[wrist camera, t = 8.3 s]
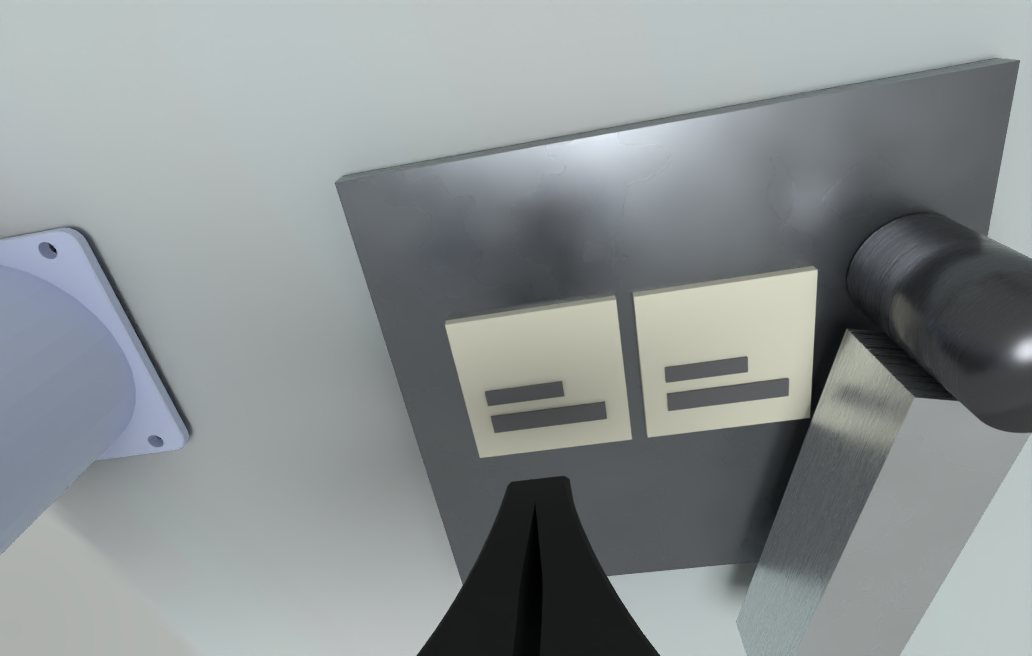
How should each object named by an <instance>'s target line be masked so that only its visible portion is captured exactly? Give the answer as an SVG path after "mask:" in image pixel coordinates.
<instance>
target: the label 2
mask: <svg viewBox="0 0 1032 656" xmlns="http://www.w3.org/2000/svg"><path fill="white" fill-rule="evenodd" d="M817 274H818V270H817V269H816V268H815V267H814V266H809V267H802V268H795V269H788V270H782V271H775V272H768V273H762V274H755V275H748V276H741V277H735V278H728V279H721V280H715V281H708V282H701V283H694V284H688V285H681V286H674V287H668V288H661V289H654V290H647V291H641V292H634V293H632V294H633V304H634V314H635V324H636V334H637V344H638V354H639V364H640V374H641V384H642V394H643V404H644V414H645V424H646V433H647V436H648V437H657V436H665V435H673V434H681V433H689V432H698V431H706V430H714V429H722V428H730V427H739V426H747V425H755V424H763V423H771V422H780V421H788V420H796V419H804V418H810V408H811V389H812V370H813V351H814V331H815V312H816V293H817Z"/></svg>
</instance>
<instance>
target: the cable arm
mask: <svg viewBox="0 0 1032 656" xmlns="http://www.w3.org/2000/svg"><path fill="white" fill-rule="evenodd" d="M847 286H848V292H849V295H850V298H851V300H852V302H853V303H854V305H855V306H856V307H857V308H858V309H859V310H860V311H861V312H862V313H863V314H864V315H865V316H866V317H867V318H869V319H870V320H871V321H872V322H873V323H874V324H875V325H876V326H877V327H878V328H879V329H881V330H882V331H872V330H860V329H848V328H846V331H845V333H844V336H843V339H842V341H841V344H840V347H839V349H838V352H837V355H836V357H835V360H834V363H833V365H832V368H831V371H830V373H829V376H828V379H827V381H826V384H825V387H824V389H823V392H822V395H821V397H820V400H819V403H818V405H817V408H816V411H815V413H814V416H813V419H812V421H811V424H810V427H809V429H808V432H807V435H806V437H805V440H804V443H803V445H802V448H801V451H800V453H799V456H798V458H797V461H796V464H795V466H794V469H793V472H792V474H791V477H790V480H789V482H788V485H787V488H786V490H785V493H784V496H783V498H782V501H781V504H780V506H779V509H778V512H777V514H776V517H775V520H774V522H773V525H772V528H771V530H770V533H769V536H768V538H767V541H766V544H765V546H764V549H763V552H762V554H761V557H760V560H759V562H758V565H757V568H756V570H755V573H754V576H753V578H752V581H751V584H750V586H749V589H748V592H747V594H746V597H745V600H744V602H743V605H742V607H741V610H740V613H739V615H738V618H737V621H736V624H737V627H738V630H739V633H740V636H741V639H742V642H743V645H744V648H745V651H746V654H747V656H900V654H901V652H902V651H903V649H904V647H905V646H906V644H907V642H908V641H909V639H910V637H911V636H912V634H913V632H914V630H915V629H916V627H917V625H918V624H919V622H920V620H921V619H922V617H923V615H924V614H925V612H926V610H927V608H928V607H929V605H930V603H931V602H932V600H933V598H934V597H935V595H936V593H937V592H938V590H939V588H940V586H941V585H942V583H943V581H944V580H945V578H946V576H947V575H948V573H949V571H950V570H951V568H952V566H953V564H954V563H955V561H956V559H957V558H958V556H959V554H960V553H961V551H962V549H963V548H964V546H965V544H966V542H967V541H968V539H969V537H970V536H971V534H972V532H973V531H974V529H975V527H976V526H977V524H978V522H979V520H980V519H981V517H982V515H983V514H984V512H985V510H986V509H987V507H988V505H989V504H990V502H991V500H992V498H993V497H994V495H995V493H996V492H997V490H998V488H999V487H1000V485H1001V483H1002V482H1003V480H1004V478H1005V476H1006V475H1007V473H1008V471H1009V470H1010V468H1011V466H1012V465H1013V463H1014V461H1015V460H1016V458H1017V456H1018V454H1019V453H1020V451H1021V449H1022V448H1023V446H1024V444H1025V443H1026V441H1027V439H1028V438H1029V436H1030V434H1031V433H1032V259H1031V258H1029V257H1027V256H1025V255H1023V254H1021V253H1019V252H1017V251H1015V250H1013V249H1011V248H1009V247H1007V246H1005V245H1003V244H1001V243H999V242H997V241H994V240H992V239H990V238H988V237H986V236H984V235H982V234H980V233H978V232H976V231H974V230H972V229H970V228H968V227H966V226H964V225H962V224H960V223H958V222H956V221H954V220H952V219H950V218H948V217H945V216H942V215H938V214H932V213H920V214H913V215H908V216H905V217H902V218H899V219H896V220H894V221H892V222H890V223H888V224H886V225H885V226H883V227H881V228H880V229H879V230H877V231H876V232H874V233H873V234H872V235H871V236H870V237H869V238H868V239H867V240H866V241H865V242H864V243H863V244H862V246H861V247H860V248H859V250H858V251H857V253H856V255H855V256H854V258H853V260H852V263H851V265H850V268H849V272H848V279H847Z"/></svg>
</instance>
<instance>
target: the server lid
mask: <svg viewBox="0 0 1032 656" xmlns="http://www.w3.org/2000/svg"><path fill="white" fill-rule="evenodd" d="M1019 63H1020V60H1012V59H1001V58H995V59H989V60H984V61H978V62H973V63H967V64H962V65H956V66H950V67H945V68H939V69H934V70H928V71H923V72H917V73H912V74H906V75H900V76H895V77H889V78H884V79H878V80H873V81H867V82H862V83H856V84H850V85H845V86H839V87H834V88H828V89H823V90H817V91H812V92H806V93H800V94H795V95H789V96H784V97H778V98H773V99H767V100H761V101H756V102H750V103H745V104H739V105H734V106H728V107H723V108H717V109H711V110H706V111H700V112H695V113H689V114H684V115H678V116H673V117H667V118H661V119H656V120H650V121H645V122H639V123H634V124H628V125H622V126H617V127H611V128H606V129H600V130H595V131H589V132H584V133H578V134H572V135H567V136H561V137H556V138H550V139H545V140H539V141H534V142H528V143H522V144H517V145H511V146H506V147H500V148H495V149H489V150H483V151H478V152H472V153H467V154H461V155H456V156H450V157H445V158H439V159H433V160H428V161H422V162H417V163H411V164H406V165H400V166H395V167H389V168H383V169H378V170H372V171H367V172H361V173H356V174H350V175H344V176H342V177H341V178H340V179H339V180H338V181H336V182H335V185H336V188H337V191H338V194H339V197H340V201H341V204H342V207H343V210H344V213H345V216H346V219H347V223H348V226H349V229H350V232H351V235H352V238H353V241H354V245H355V248H356V251H357V254H358V257H359V260H360V263H361V267H362V270H363V273H364V276H365V279H366V282H367V285H368V289H369V292H370V295H371V298H372V301H373V304H374V307H375V311H376V314H377V317H378V320H379V323H380V326H381V329H382V333H383V336H384V339H385V342H386V345H387V348H388V351H389V354H390V358H391V361H392V364H393V367H394V370H395V373H396V376H397V380H398V383H399V386H400V389H401V392H402V395H403V398H404V402H405V405H406V408H407V411H408V414H409V417H410V420H411V424H412V427H413V430H414V433H415V436H416V439H417V442H418V446H419V449H420V452H421V455H422V458H423V461H424V464H425V468H426V471H427V474H428V477H429V480H430V483H431V486H432V490H433V493H434V496H435V499H436V502H437V505H438V508H439V512H440V515H441V518H442V521H443V524H444V527H445V530H446V534H447V537H448V540H449V543H450V546H451V549H452V552H453V555H454V559H455V562H456V565H457V568H458V571H459V574H460V577H461V581H462V584H464V583H465V581H466V579H467V577H468V575H469V573H470V571H471V570H472V568H473V566H474V564H475V562H476V560H477V558H478V556H479V554H480V552H481V550H482V548H483V546H484V543H485V541H486V539H487V537H488V535H489V533H490V531H491V528H492V526H493V523H494V521H495V519H496V516H497V514H498V511H499V509H500V506H501V503H502V500H503V498H504V495H505V492H506V488H507V486H508V485H509V484H510V482H513V481H522V480H530V479H539V478H547V477H556V476H566V477H567V478H569V479H570V484H571V489H572V495H573V501H574V505H575V508H576V511H577V513H578V516H579V519H580V522H581V524H582V527H583V529H584V531H585V533H586V536H587V538H588V540H589V542H590V544H591V547H592V549H593V551H594V553H595V555H596V557H597V559H598V561H599V563H600V565H601V566H602V568H603V570H604V572H605V574H606V576H613V575H623V574H633V573H643V572H654V571H664V570H674V569H685V568H695V567H705V566H715V565H726V564H736V563H746V562H756V561H759V560H760V557H761V554H762V552H763V549H764V546H765V544H766V541H767V538H768V536H769V533H770V530H771V528H772V525H773V522H774V520H775V517H776V514H777V512H778V509H779V506H780V504H781V501H782V498H783V496H784V493H785V490H786V488H787V485H788V482H789V480H790V477H791V474H792V472H793V469H794V466H795V464H796V461H797V458H798V456H799V453H800V451H801V448H802V445H803V443H804V440H805V437H806V435H807V432H808V429H809V427H810V424H811V421H812V419H813V416H814V413H815V411H816V408H817V405H818V403H819V400H820V397H821V395H822V392H823V389H824V387H825V384H826V381H827V379H828V376H829V373H830V371H831V368H832V365H833V363H834V360H835V357H836V355H837V352H838V349H839V347H840V344H841V341H842V339H843V336H844V333H845V331H846V328H848V329H860V330H872V331H882V330H881V329H879V328H878V327H877V326H876V325H875V324H874V323H873V322H872V321H871V320H870V319H869V318H867V317H866V316H865V315H864V314H863V313H862V312H861V311H860V310H859V309H858V308H857V307H856V306H855V305H854V303H853V302H852V300H851V298H850V295H849V292H848V286H847V279H848V272H849V268H850V265H851V263H852V260H853V258H854V256H855V255H856V253H857V251H858V250H859V248H860V247H861V246H862V244H863V243H864V242H865V241H866V240H867V239H868V238H869V237H870V236H871V235H872V234H873V233H874V232H876V231H877V230H879V229H880V228H881V227H883V226H885V225H886V224H888V223H890V222H892V221H894V220H896V219H899V218H902V217H905V216H908V215H913V214H920V213H932V214H938V215H942V216H945V217H948V218H950V219H952V220H954V221H956V222H958V223H960V224H962V225H964V226H966V227H968V228H970V229H972V230H974V231H976V232H978V233H980V234H982V235H984V236H986V237H987V235H988V230H989V225H990V219H991V214H992V208H993V203H994V198H995V192H996V187H997V181H998V176H999V171H1000V165H1001V160H1002V154H1003V149H1004V144H1005V138H1006V133H1007V127H1008V122H1009V117H1010V111H1011V106H1012V100H1013V95H1014V90H1015V84H1016V79H1017V74H1018V68H1019ZM809 266H814V267H815V268H816V269H817V270H818V274H817V293H816V312H815V331H814V351H813V370H812V389H811V408H810V418H804V419H796V420H788V421H780V422H771V423H763V424H755V425H747V426H739V427H730V428H722V429H714V430H706V431H698V432H689V433H681V434H673V435H665V436H657V437H648V436H647V433H646V424H645V414H644V404H643V394H642V384H641V374H640V364H639V354H638V344H637V334H636V324H635V314H634V304H633V294H632V293H634V292H641V291H647V290H654V289H661V288H668V287H674V286H681V285H688V284H694V283H701V282H708V281H715V280H721V279H728V278H735V277H741V276H748V275H755V274H762V273H768V272H775V271H782V270H788V269H795V268H802V267H809ZM614 295H615V298H616V303H617V312H618V321H619V330H620V338H621V347H622V356H623V364H624V373H625V382H626V391H627V399H628V408H629V417H630V425H631V434H632V440H624V441H616V442H607V443H599V444H591V445H583V446H575V447H566V448H558V449H550V450H542V451H534V452H525V453H517V454H509V455H501V456H493V457H484V458H480V457H479V453H478V449H477V445H476V441H475V438H474V434H473V430H472V426H471V422H470V419H469V415H468V411H467V407H466V403H465V400H464V396H463V392H462V388H461V384H460V381H459V377H458V373H457V369H456V365H455V362H454V358H453V354H452V350H451V346H450V343H449V339H448V335H447V331H446V327H445V323H446V320H453V319H459V318H466V317H473V316H479V315H486V314H493V313H500V312H506V311H513V310H520V309H526V308H533V307H540V306H547V305H553V304H560V303H567V302H574V301H580V300H587V299H594V298H600V297H607V296H614Z"/></svg>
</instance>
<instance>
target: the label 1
mask: <svg viewBox="0 0 1032 656" xmlns="http://www.w3.org/2000/svg"><path fill="white" fill-rule="evenodd" d="M445 327H446V331H447V335H448V339H449V343H450V346H451V350H452V354H453V358H454V362H455V365H456V369H457V373H458V377H459V381H460V384H461V388H462V392H463V396H464V400H465V403H466V407H467V411H468V415H469V419H470V422H471V426H472V430H473V434H474V438H475V441H476V445H477V449H478V453H479V457H480V458H484V457H493V456H501V455H509V454H517V453H525V452H534V451H542V450H550V449H558V448H566V447H575V446H583V445H591V444H599V443H607V442H616V441H624V440H632V434H631V425H630V417H629V408H628V399H627V391H626V382H625V373H624V364H623V356H622V347H621V338H620V330H619V321H618V312H617V303H616V298H615V295H614V296H607V297H600V298H594V299H587V300H580V301H574V302H567V303H560V304H553V305H547V306H540V307H533V308H526V309H520V310H513V311H506V312H500V313H493V314H486V315H479V316H473V317H466V318H459V319H453V320H446V323H445Z"/></svg>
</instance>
